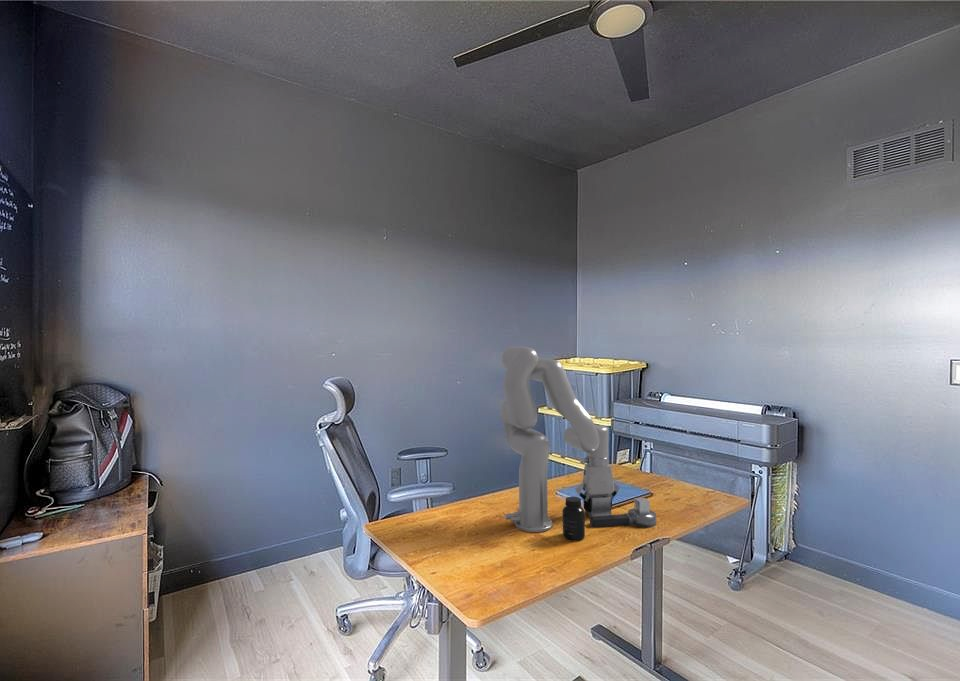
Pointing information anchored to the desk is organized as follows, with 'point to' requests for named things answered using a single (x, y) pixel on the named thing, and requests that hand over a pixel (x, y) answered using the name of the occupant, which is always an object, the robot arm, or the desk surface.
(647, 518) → the ratchet
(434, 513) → the desk surface
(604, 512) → the grey matte cube
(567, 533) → the supplement bottle
